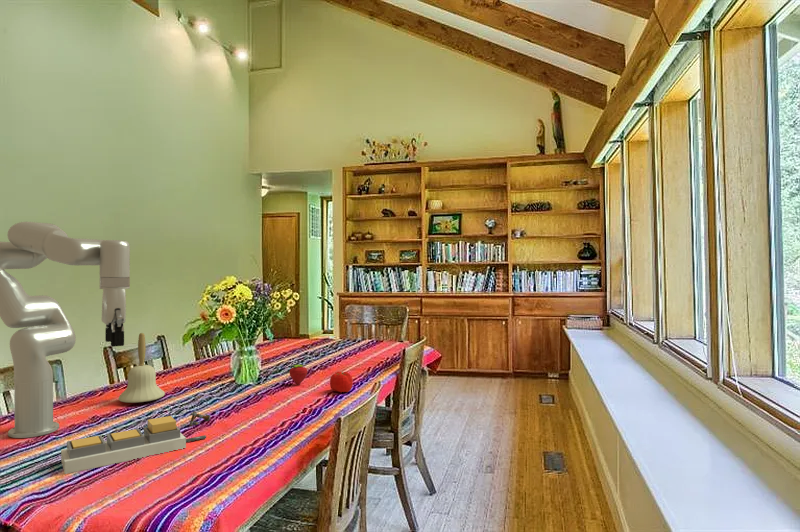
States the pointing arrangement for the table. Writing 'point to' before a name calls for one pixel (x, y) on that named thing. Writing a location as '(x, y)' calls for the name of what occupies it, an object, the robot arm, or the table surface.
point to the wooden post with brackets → (199, 417)
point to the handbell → (141, 379)
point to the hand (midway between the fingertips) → (114, 343)
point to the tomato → (341, 382)
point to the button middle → (124, 435)
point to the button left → (85, 442)
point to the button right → (161, 424)
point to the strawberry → (298, 373)
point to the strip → (122, 449)
